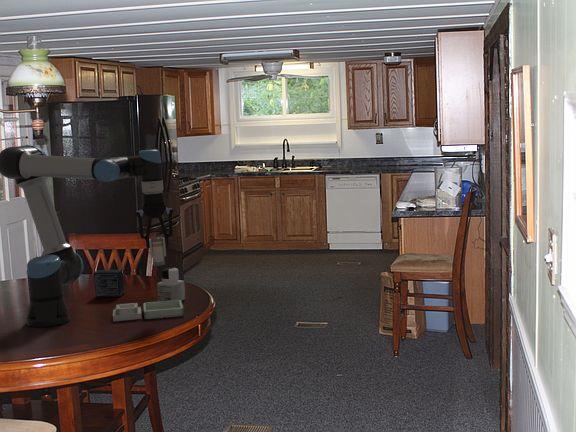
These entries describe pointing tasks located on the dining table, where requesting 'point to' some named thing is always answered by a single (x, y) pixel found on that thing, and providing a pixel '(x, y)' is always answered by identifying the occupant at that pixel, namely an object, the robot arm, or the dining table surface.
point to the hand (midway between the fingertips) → (158, 256)
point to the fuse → (157, 251)
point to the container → (170, 286)
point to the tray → (163, 309)
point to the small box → (109, 283)
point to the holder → (126, 312)
